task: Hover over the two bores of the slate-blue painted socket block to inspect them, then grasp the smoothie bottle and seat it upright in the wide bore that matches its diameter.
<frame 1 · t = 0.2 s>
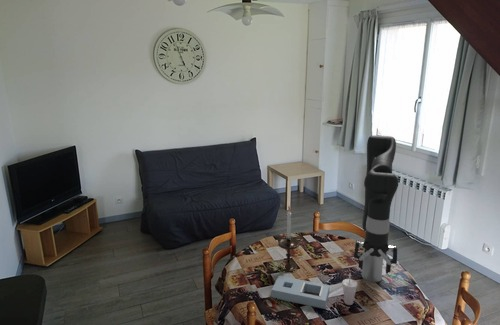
hand: (373, 270, 122), 29 cm above the table, fingers open, 8 cm apart
candlestick: (288, 268, 179), on the table
smoothie: (348, 302, 151), on the table
socket block: (300, 295, 156), on the table
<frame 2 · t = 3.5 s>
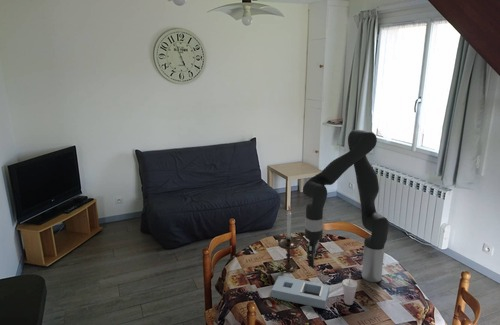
hand: (312, 261, 151), 18 cm above the table, fingers open, 8 cm apart
nothing on the table moved.
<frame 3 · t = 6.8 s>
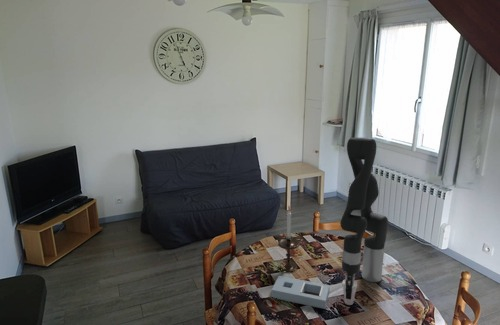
hand: (349, 294, 150), 4 cm above the table, fingers closed on smoothie, 6 cm apart
smoothie: (348, 302, 151), on the table, touching gripper
everything else where it was.
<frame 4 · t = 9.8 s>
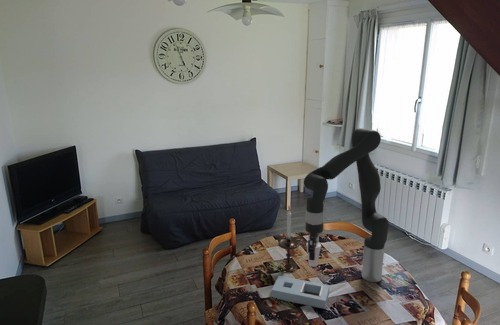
hand: (313, 256, 150), 21 cm above the table, fingers closed on smoothie, 6 cm apart
smoothie: (313, 264, 151), point 16 cm above the table, touching gripper
everything else where it was.
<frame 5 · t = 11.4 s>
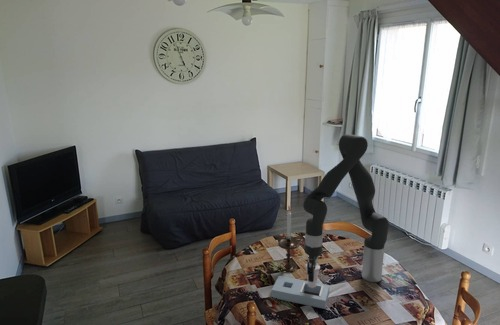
hand: (312, 277, 152), 10 cm above the table, fingers closed on smoothie, 6 cm apart
smoothie: (311, 285, 153), point 6 cm above the table, touching gripper
everything else where it was.
when the fingers open (6 cm above the table, at t = 12.9 s): smoothie drops 2 cm, resting in socket block.
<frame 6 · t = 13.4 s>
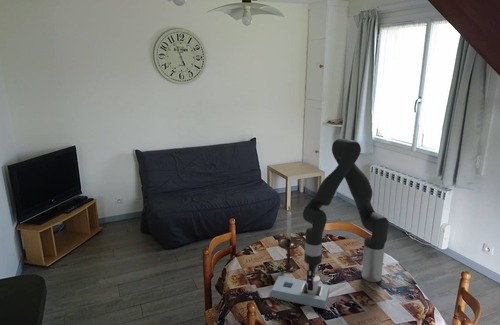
hand: (312, 284, 153), 7 cm above the table, fingers open, 8 cm apart
smoothie: (312, 296, 155), resting in socket block, touching gripper
everything else where it was.
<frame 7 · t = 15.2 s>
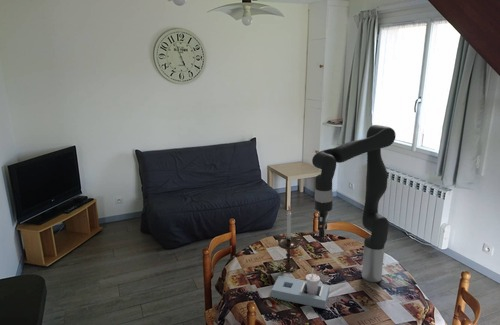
hand: (323, 233, 151), 30 cm above the table, fingers open, 8 cm apart
smoothie: (312, 296, 155), resting in socket block
everything else where it was.
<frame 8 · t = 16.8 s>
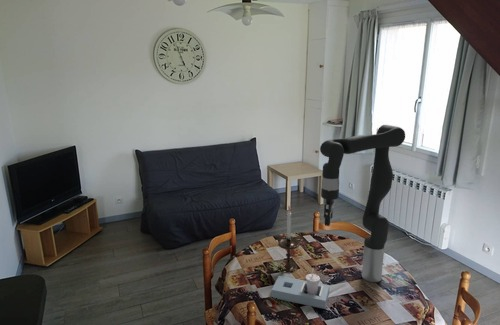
hand: (328, 221, 152), 34 cm above the table, fingers open, 8 cm apart
nothing on the table moved.
at the end: smoothie 0.8 cm from the target spot on the socket block, point 0.0 cm above the socket block's base; smoothie tilted 0°; the gripper is holding nothing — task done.
